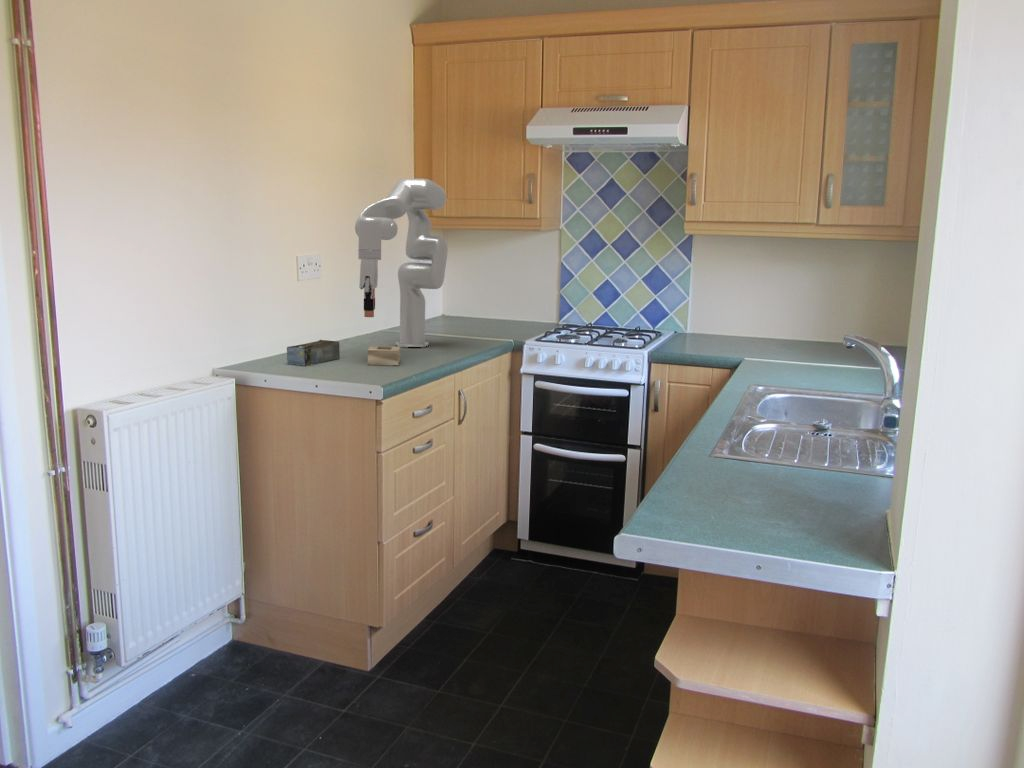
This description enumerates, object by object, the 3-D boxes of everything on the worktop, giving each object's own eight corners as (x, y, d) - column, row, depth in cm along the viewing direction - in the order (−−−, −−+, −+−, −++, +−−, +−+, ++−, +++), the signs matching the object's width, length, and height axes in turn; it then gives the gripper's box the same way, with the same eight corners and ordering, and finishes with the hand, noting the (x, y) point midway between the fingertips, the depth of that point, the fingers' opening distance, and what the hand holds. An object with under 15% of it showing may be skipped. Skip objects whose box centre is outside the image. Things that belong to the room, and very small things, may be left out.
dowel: (365, 316, 293) (365, 289, 291) (374, 316, 293) (374, 289, 291) (363, 317, 290) (363, 290, 288) (373, 317, 290) (373, 290, 288)
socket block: (370, 360, 295) (371, 345, 294) (400, 360, 295) (400, 346, 294) (367, 365, 285) (367, 350, 284) (398, 365, 285) (398, 351, 284)
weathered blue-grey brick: (285, 364, 282) (285, 344, 281) (322, 357, 299) (322, 338, 298) (304, 367, 278) (304, 347, 277) (341, 359, 295) (341, 340, 294)
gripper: (362, 253, 295) (361, 307, 299) (354, 255, 279) (354, 312, 283) (384, 254, 296) (383, 308, 299) (377, 256, 280) (377, 313, 283)
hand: (369, 309), depth 291 cm, fingers closed on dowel, 3 cm apart
